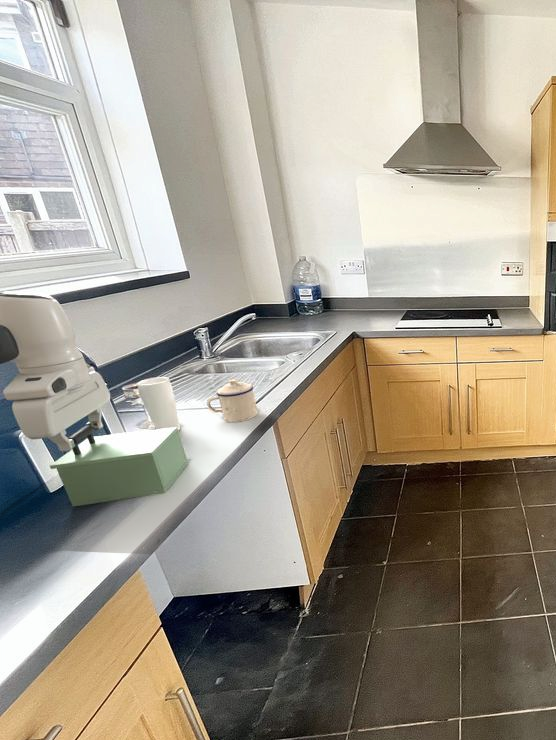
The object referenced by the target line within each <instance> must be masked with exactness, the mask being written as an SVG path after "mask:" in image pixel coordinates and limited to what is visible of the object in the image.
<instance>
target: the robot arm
mask: <svg viewBox="0 0 556 740" xmlns="http://www.w3.org/2000/svg"><path fill="white" fill-rule="evenodd" d="M69 319H70V318H69V317H68V315H67V313H66V312H65V310H64V308H63V306H62V305H61V304H60V303H59V301H58V300H57V299H56V298H55V297H53V296H50V295H49V294H47V293H40V292H36V291H21V290H15V291H14V290H13V291H11V290H10V291H9V290H7V291H0V365H2V364H5V363H14V364H15V365H16V367H17V369H18V373H17V374H16V375H15V377H14V378H13V380H12V381H11V382H9V384H8V385H6V387H5V388H4V389H3V391H2V394H3V396H4V398H5V399H6V400H7V401H13V402H12V404H11V409H12V413H13V415H14V418H15V420H16V422H17V425H18V427H19V428H20V431H21V432H22V434H23V435H24V437H26V438H28V439H30V440H41V439H48V440H50V441H51V442H53V444H55V445H56V446H57V448H58V450H59V452H63V453H64V452H69V451H70V450H72V449H73V448H74V447H75V446H76V445H75V444H74V441H73V439H70V440H69V439H68V437H67V431H66V430H67V429H68V428H70V427H71V426H72V425H75V424H77V422H79V421H80V420H82V419H84V418H85V417H87V419H88V422H87V423H86V426H87V425H90V426H92V427H94V432H95V431H99V430H101V429H102V428H103V427H104V424H103V421H102V414H103V410H102V408H101V407H103V406H104V405H106V404H108V403H109V402H110V401H111V393H110V390H109V388H108V386H107V384H106V382H105V380H104V378H103V376H102V375H101V374H100V373H99V372H98V371H96V370H95V367H94V366H92V365H90V364H88V363H87V362H86V360H85V358H84V355H83V353H82V352H81V351H80V350H79V348H78V346H77V344H76V335H75V331H74V329H73V326H72V324H71V322H70V320H69Z"/></svg>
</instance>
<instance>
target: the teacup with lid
mask: <svg viewBox="0 0 556 740" xmlns="http://www.w3.org/2000/svg"><path fill="white" fill-rule="evenodd" d="M254 393H255V392H254V386H253V385H252V384H251V383H248V382H241V381H238V380H237V379H236V378H233V379H229V380H228V383H226V384H225V385H224V386H221V387H219V388H218V389H217V390H216V395H217V396H212V397H209V399H208V400H207V401H206V406H207V409H208V410H209V411H211V412H212V413H215V414H222V416H223V419H224V421H226V422H229V423H240V422H244V421H248V420H250V419H253V418H255V417H256V416H257V415H258V414H259V412H258V407H257V403H256V398H255V394H254ZM216 400H218V401H219V404H220V408H221V409H216V408H214V407H212V405H211V403H212V401H216Z"/></svg>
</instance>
